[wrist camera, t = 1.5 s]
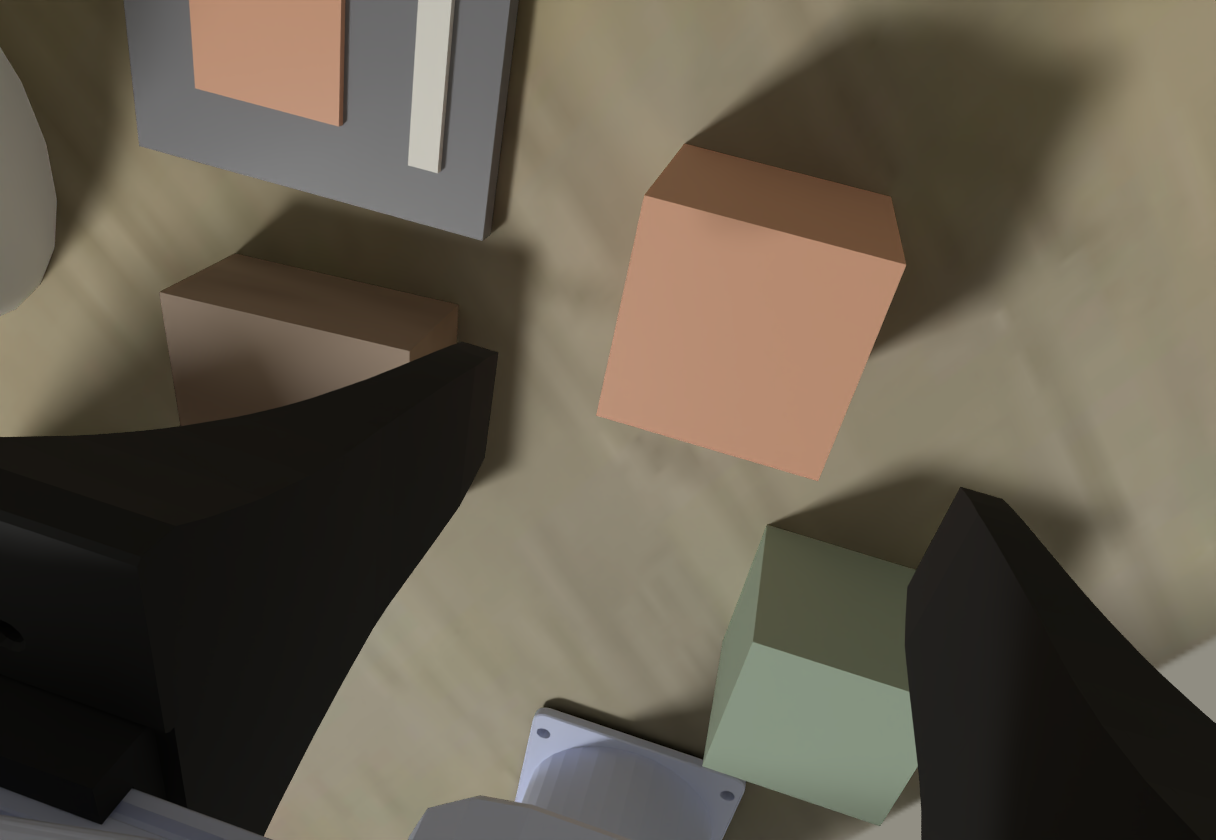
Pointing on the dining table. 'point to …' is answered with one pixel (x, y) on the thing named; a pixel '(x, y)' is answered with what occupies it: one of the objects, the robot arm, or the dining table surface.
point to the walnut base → (287, 335)
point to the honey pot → (22, 194)
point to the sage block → (817, 678)
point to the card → (334, 97)
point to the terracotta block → (750, 308)
